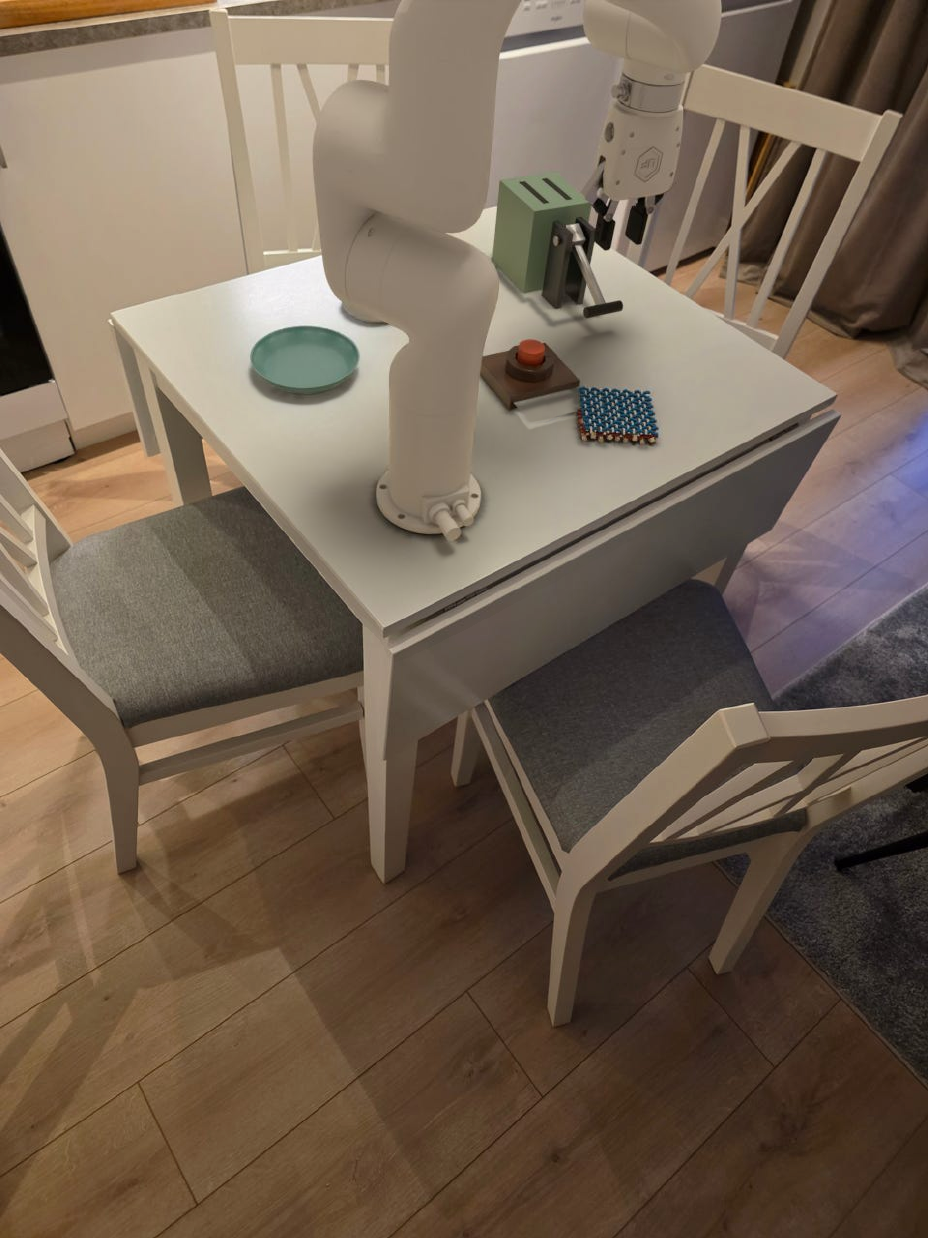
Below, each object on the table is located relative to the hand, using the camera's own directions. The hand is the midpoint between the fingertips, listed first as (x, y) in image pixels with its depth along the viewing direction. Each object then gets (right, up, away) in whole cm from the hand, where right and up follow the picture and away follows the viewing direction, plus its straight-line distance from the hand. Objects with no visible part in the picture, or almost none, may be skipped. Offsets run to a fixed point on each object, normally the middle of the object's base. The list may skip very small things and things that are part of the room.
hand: (617, 241), depth 112 cm
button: (-12, -16, +1) cm, 20 cm away
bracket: (-6, -2, +18) cm, 19 cm away
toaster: (-10, +4, +23) cm, 25 cm away
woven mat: (-1, -25, 0) cm, 25 cm away
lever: (-3, -1, +10) cm, 10 cm away
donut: (-35, -4, +14) cm, 38 cm away
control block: (-12, -18, +4) cm, 22 cm away
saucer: (-43, -17, +2) cm, 46 cm away
